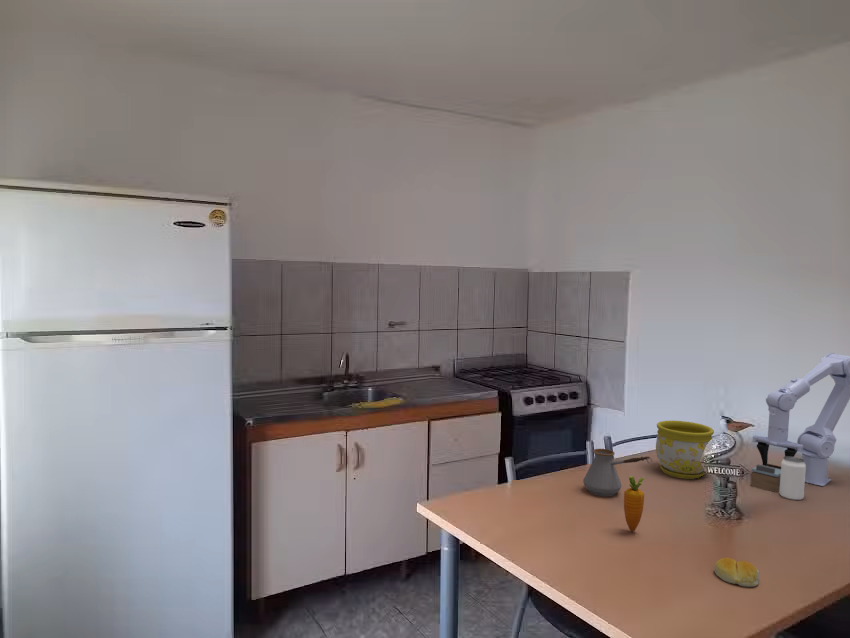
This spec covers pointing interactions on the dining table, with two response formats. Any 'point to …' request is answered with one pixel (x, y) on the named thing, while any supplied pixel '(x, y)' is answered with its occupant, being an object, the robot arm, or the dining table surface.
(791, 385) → the robot arm
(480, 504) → the dining table surface
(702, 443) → the flowerpot
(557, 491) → the dining table surface
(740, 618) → the dining table surface
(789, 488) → the can
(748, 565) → the bread roll
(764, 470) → the cover
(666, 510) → the dining table surface
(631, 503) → the carrot
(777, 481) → the brown rectangular box
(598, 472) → the coffee pot
